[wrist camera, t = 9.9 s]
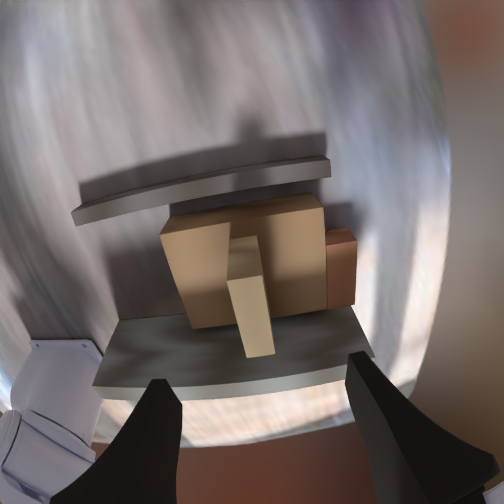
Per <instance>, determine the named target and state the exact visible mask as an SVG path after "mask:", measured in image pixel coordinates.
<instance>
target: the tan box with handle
mask: <svg viewBox="0 0 504 504" xmlns="http://www.w3.org/2000/svg"><path fill="white" fill-rule="evenodd" d="M159 236H160V239H161V242H162V245H163V248H164V251H165V254H166V257H167V260H168V263H169V266H170V269H171V272H172V275H173V278H174V281H175V284H176V286H177V289H178V292H179V295H180V297H181V300H182V303H183V305H184V308H185V311H186V313H187V316H188V319H189V321H190V324H191V326H192V329H198V328H207V327H215V326H223V325H230V324H238V327H239V331H240V334H241V338H242V342H243V345H244V349H245V353H246V356H247V358H251V357H259V356H266V355H272V354H275V348H274V341H273V333H272V326H271V318H278V317H284V316H290V315H296V314H301V313H307V312H312V311H318V310H323V309H327V272H326V246H325V227H324V211H323V206H322V205H321V204H320V203H319V201H318V200H317V199H316V198H315V196H314V195H313V194H312V193H306V194H299V195H292V196H285V197H279V198H272V199H266V200H260V201H254V202H248V203H242V204H236V205H230V206H225V207H219V208H214V209H208V210H203V211H198V212H193V213H187V214H182V215H177V216H172V217H169V219H168V221H167V223H166V224H165V226H164V228H163V229H162V231H161V233H160V235H159Z"/></svg>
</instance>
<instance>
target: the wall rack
mask: <svg viewBox="0 0 504 504" xmlns="http://www.w3.org/2000/svg"><path fill="white" fill-rule="evenodd" d="M328 177H331V166H330V160H329V159H328V158H326V157H324V156H314V157H305V158H297V159H289V160H282V161H275V162H268V163H261V164H255V165H249V166H243V167H237V168H231V169H226V170H220V171H215V172H210V173H205V174H200V175H195V176H190V177H186V178H181V179H176V180H172V181H168V182H163V183H159V184H155V185H151V186H147V187H143V188H139V189H135V190H131V191H127V192H123V193H120V194H116V195H112V196H109V197H105V198H102V199H98V200H95V201H92V202H88V203H85V204H82V205H80V206H79V207H77V208H76V209H75V210H73V211H72V212H71V215H72V217H73V220H74V223H75V226H80V225H83V224H87V223H91V222H95V221H99V220H102V219H106V218H110V217H114V216H118V215H122V214H127V213H131V212H135V211H139V210H144V209H148V208H152V207H157V206H162V205H166V204H171V203H176V202H180V201H185V200H190V199H195V198H200V197H206V196H211V195H216V194H222V193H227V192H233V191H239V190H245V189H251V188H257V187H263V186H269V185H276V184H283V183H290V182H297V181H304V180H312V179H319V178H328ZM325 246H326V272H327V309H323V310H318V311H312V312H307V313H301V314H296V315H290V316H284V317H278V318H271V326H272V333H273V341H274V348H275V354H272V355H266V356H259V357H251V358H247V356H246V353H245V349H244V345H243V342H242V338H241V334H240V331H239V327H238V324H230V325H223V326H215V327H207V328H198V329H192V326H191V324H190V321H189V319H188V316H187V313H186V314H178V315H169V316H160V317H150V318H140V319H129V320H119V322H118V324H117V326H116V328H115V331H114V333H113V335H112V337H111V340H110V342H109V344H108V347H107V349H106V351H105V354H104V356H103V359H102V361H101V363H100V366H99V368H98V371H97V373H96V376H95V378H94V381H93V384H92V387H93V388H94V390H95V391H96V392H97V393H98V394H99V396H100V397H101V398H102V399H113V400H135V401H139V400H140V398H141V396H142V395H143V393H144V391H145V390H146V388H147V386H148V385H149V383H150V381H151V380H152V379H165V378H166V380H167V381H168V383H169V385H170V386H171V388H172V390H173V391H174V393H175V394H176V396H177V397H178V399H179V401H184V400H206V399H220V398H232V397H242V396H251V395H260V394H267V393H275V392H281V391H288V390H294V389H300V388H305V387H310V386H316V385H321V384H325V383H330V382H335V381H339V380H344V379H346V371H347V363H348V354H350V353H355V352H359V351H365V352H366V353H367V354H368V356H369V357H370V358H371V359H372V361H373V362H374V361H375V356H374V353H373V351H372V349H371V347H370V345H369V342H368V340H367V338H366V336H365V334H364V332H363V330H362V328H361V325H360V323H359V321H358V319H357V317H356V315H355V313H354V311H353V309H352V307H351V305H354V304H355V290H356V267H357V240H356V239H355V237H354V236H353V235H352V234H351V233H350V231H349V230H348V229H347V228H341V229H334V230H328V231H325Z"/></svg>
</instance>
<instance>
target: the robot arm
mask: <svg viewBox="0 0 504 504" xmlns="http://www.w3.org/2000/svg"><path fill="white" fill-rule="evenodd" d="M29 344H30V346H31V347H32V349H33V350H32V351H31V353H30V355H29V356H28V358H27V360H26V362H25V363H24V365H23V367H22V369H21V370H20V372H19V374H18V376H17V378H16V380H15V382H14V383H13V386H12V389H11V396H10V398H11V406H12V410H7V411H6V412H5V413H4V414H3V416H2V417H1V419H0V500H1V502H2V503H3V504H177V503H176V502H177V501H176V471H177V462H178V455H179V447H180V440H181V432H182V404H181V402H180V401H179V399H178V397H177V396H176V394H175V393H174V391H173V390H172V388H171V386H170V385H169V383H168V381H167V380H166V378H165V379H152V380H151V381H150V383H149V385H148V386H147V388H146V390H145V391H144V393H143V395H142V396H141V398H140V400H139V401H138V403H137V405H136V406H135V408H134V410H133V411H132V413H131V415H130V416H129V418H128V419H127V421H126V422H125V424H124V425H123V427H122V428H121V430H120V431H119V433H118V434H117V435H116V437H115V438H114V440H113V441H112V442H111V444H110V445H109V446H108V448H107V449H106V450H105V451H104V452H103V453H102V455H101V456H100V457H99V458H98V459H97V460H96V461H95V460H94V458H95V454H96V452H94V451H93V450H91V449H90V446H91V442H92V439H93V435H94V432H95V428H96V425H97V422H98V418H99V415H100V412H101V409H102V405H103V402H104V399H102V398H101V397H100V396H99V394H98V393H97V392H96V391H95V390H94V388H93V387H92V384H93V381H94V378H95V376H96V373H97V371H98V368H99V366H100V363H101V361H102V359H103V357H102V356H101V354H100V353H99V351H98V350H97V348H96V346H95V345H94V343H93V342H92V341H91V340H88V339H83V340H30V342H29ZM345 386H346V391H347V395H348V399H349V403H350V407H351V409H352V412H353V415H354V418H355V420H356V423H357V426H358V429H359V431H360V434H361V437H362V439H363V442H364V445H365V448H366V451H367V455H368V458H369V463H370V468H371V473H372V478H373V483H374V489H375V495H376V501H377V504H504V481H503V482H502V483H500V484H499V485H498V486H496V487H494V488H493V489H491V490H489V491H487V492H485V493H482V492H483V491H484V490H485V487H484V485H483V484H485V483H486V482H488V481H489V480H491V479H492V478H494V477H495V476H496V475H498V474H499V473H500V469H499V466H498V464H497V461H496V459H495V458H494V456H493V455H492V454H490V453H488V452H486V451H483V450H481V449H478V448H476V447H474V446H472V445H470V444H468V443H466V442H465V441H463V440H461V439H459V438H457V437H456V436H454V435H453V434H451V433H450V432H448V431H446V430H445V429H443V428H442V427H440V426H439V425H438V424H436V423H435V422H434V421H432V420H431V419H430V418H428V417H427V416H426V415H425V414H423V413H422V412H421V411H420V410H419V409H418V408H416V407H415V406H414V405H413V404H412V403H411V402H410V401H409V400H408V399H407V398H406V397H405V396H404V395H403V394H402V393H401V392H400V391H399V390H398V389H397V388H396V387H395V386H394V385H393V384H392V383H391V382H390V381H389V379H388V378H387V377H386V376H385V375H384V374H383V373H382V372H381V370H380V369H379V368H378V367H377V366H376V364H375V363H374V362H373V361H372V359H371V358H370V357H369V356H368V354H367V353H366V352H365V351H359V352H355V353H350V354H348V363H347V371H346V379H345ZM11 476H12V477H11ZM14 478H15V479H14ZM19 481H20V482H19ZM24 484H25V485H24ZM31 488H32V489H31ZM33 489H34V490H33Z"/></svg>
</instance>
